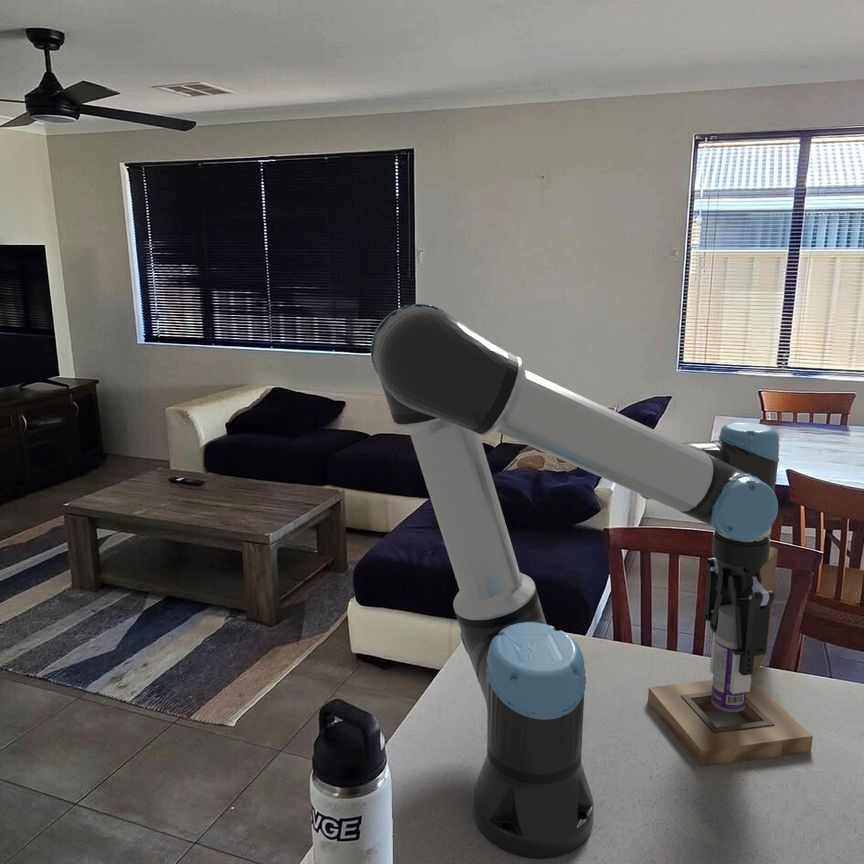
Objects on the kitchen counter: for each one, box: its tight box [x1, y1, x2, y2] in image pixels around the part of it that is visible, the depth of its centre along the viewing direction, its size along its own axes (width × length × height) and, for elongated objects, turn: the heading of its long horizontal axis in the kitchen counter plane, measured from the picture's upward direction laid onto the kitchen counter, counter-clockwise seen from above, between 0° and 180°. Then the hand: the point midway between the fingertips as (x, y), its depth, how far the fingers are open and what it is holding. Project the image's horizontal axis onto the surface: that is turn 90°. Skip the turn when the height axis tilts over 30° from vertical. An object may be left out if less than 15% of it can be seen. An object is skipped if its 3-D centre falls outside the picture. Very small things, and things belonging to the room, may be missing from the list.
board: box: [647, 679, 814, 768], centre depth 113 cm, size 17×16×3 cm
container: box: [711, 604, 746, 713], centre depth 110 cm, size 5×5×15 cm
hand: (729, 681), depth 111 cm, fingers closed on container, 5 cm apart
